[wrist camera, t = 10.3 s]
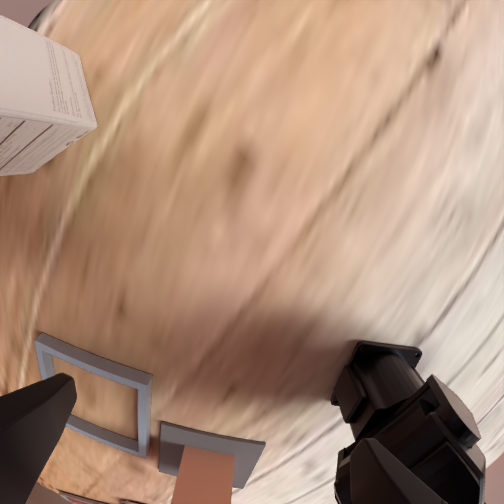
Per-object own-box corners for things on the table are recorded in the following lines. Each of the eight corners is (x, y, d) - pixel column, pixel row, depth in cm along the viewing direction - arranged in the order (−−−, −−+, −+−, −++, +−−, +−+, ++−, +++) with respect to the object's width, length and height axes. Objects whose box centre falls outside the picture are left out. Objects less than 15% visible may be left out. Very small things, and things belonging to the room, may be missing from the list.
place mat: (265, 442, 24) (265, 445, 24) (243, 486, 26) (242, 488, 26) (162, 421, 24) (161, 423, 23) (159, 469, 26) (158, 471, 26)
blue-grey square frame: (152, 374, 22) (147, 385, 21) (149, 448, 25) (146, 458, 24) (42, 332, 22) (34, 339, 20) (58, 412, 24) (53, 419, 23)
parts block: (234, 455, 24) (228, 529, 15) (225, 476, 25) (219, 542, 17) (185, 445, 24) (167, 517, 15) (181, 467, 25) (166, 532, 16)
